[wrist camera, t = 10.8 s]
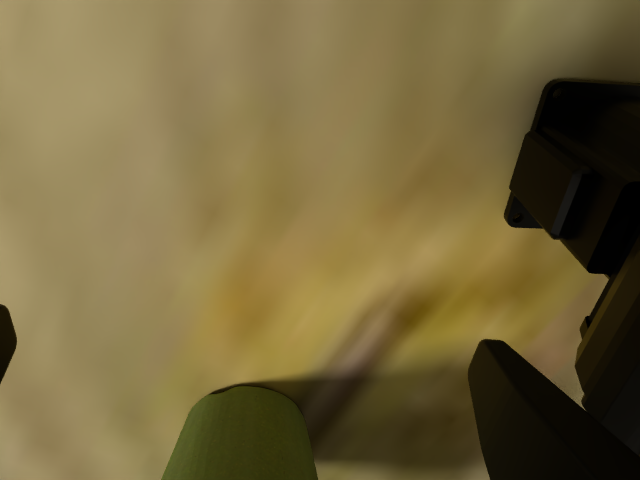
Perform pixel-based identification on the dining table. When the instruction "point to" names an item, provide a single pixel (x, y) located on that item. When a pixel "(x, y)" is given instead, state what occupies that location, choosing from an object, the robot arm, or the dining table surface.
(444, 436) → the dining table surface
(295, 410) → the plant pot
